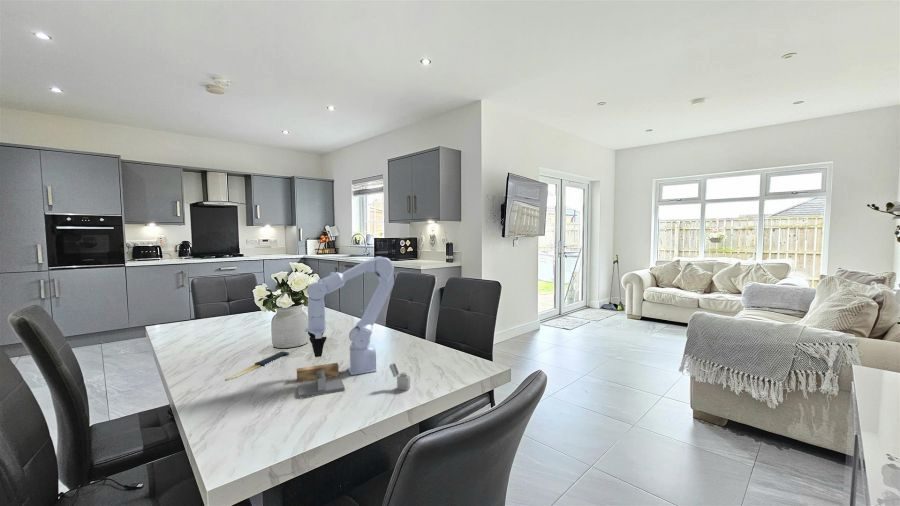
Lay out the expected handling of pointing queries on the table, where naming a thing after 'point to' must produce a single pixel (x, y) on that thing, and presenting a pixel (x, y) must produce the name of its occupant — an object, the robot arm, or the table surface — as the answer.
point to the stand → (320, 386)
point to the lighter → (400, 378)
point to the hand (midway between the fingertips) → (317, 353)
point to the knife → (259, 364)
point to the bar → (311, 371)
